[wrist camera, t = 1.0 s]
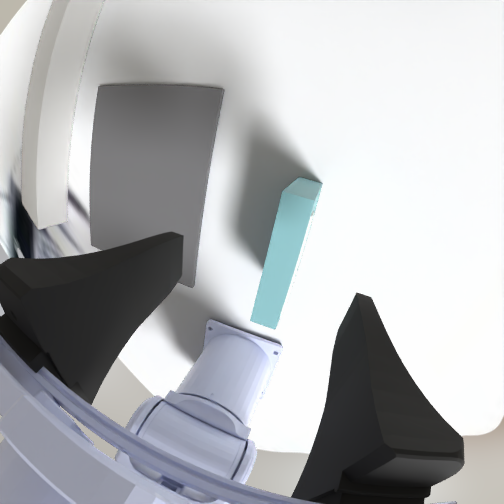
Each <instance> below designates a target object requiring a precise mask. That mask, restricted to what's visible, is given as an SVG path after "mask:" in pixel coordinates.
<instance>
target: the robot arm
mask: <svg viewBox="0 0 504 504" xmlns="http://www.w3.org/2000/svg"><path fill="white" fill-rule="evenodd" d="M183 240H184V235H181V234H178V233H175V232H172V231H171V232H166V233H162V234H158V235H155V236H151V237H148V238H145V239H142V240H138V241H135V242H132V243H129V244H125V245H121V246H118V247H114V248H111V249H107V250H103V251H99V252H94V253H89V254H84V255H77V256H69V257H61V258H47V259H28V258H10V259H8V260H6V261H5V262H3V263H2V264H0V303H1V306H2V308H3V310H4V312H5V314H4V315H2V316H0V415H1V416H2V418H1V419H0V432H1V433H2V435H3V436H4V437H5V438H4V440H3V441H2V442H1V443H0V504H424V498H426V497H429V495H430V492H431V486H433V485H435V484H437V483H439V482H441V481H443V480H445V479H447V478H449V477H451V476H453V475H454V474H456V473H457V472H458V471H459V470H460V469H461V468H462V467H463V465H464V442H463V438H462V437H461V436H460V435H459V434H458V433H457V432H456V431H455V430H454V429H453V428H452V427H451V426H450V425H449V424H448V423H447V422H446V421H445V420H444V419H443V418H442V417H441V415H440V414H439V413H438V412H437V411H436V410H435V408H434V407H433V406H432V405H431V404H430V402H429V401H428V400H427V399H426V397H425V396H424V394H423V393H422V392H421V390H420V389H419V388H418V386H417V385H416V383H415V382H414V380H413V379H412V377H411V376H410V374H409V373H408V371H407V369H406V368H405V366H404V364H403V363H402V361H401V359H400V357H399V356H398V354H397V352H396V350H395V348H394V346H393V344H392V342H391V340H390V338H389V336H388V334H387V332H386V329H385V327H384V325H383V323H382V321H381V318H380V316H379V314H378V312H377V309H376V307H375V305H374V302H373V300H372V298H371V297H369V296H366V295H363V294H359V293H356V295H355V297H354V299H353V301H352V303H351V305H350V307H349V309H348V311H347V313H346V315H345V317H344V319H343V321H342V323H341V325H340V327H339V329H338V332H337V336H336V340H335V345H334V349H333V354H332V362H331V370H330V377H329V385H328V392H327V398H326V403H325V408H324V412H323V415H322V419H321V422H320V426H319V429H318V432H317V435H316V438H315V441H314V444H313V447H312V450H311V452H310V455H309V457H308V460H307V463H306V465H305V468H304V470H303V472H302V475H301V477H300V479H299V481H298V484H297V486H296V488H295V490H294V492H293V494H292V496H291V497H287V496H283V495H279V494H275V493H271V492H268V491H264V490H261V489H257V488H254V487H251V486H248V485H245V483H246V480H247V479H248V477H249V475H250V473H251V471H252V468H253V465H254V463H255V460H256V456H257V449H256V447H255V443H254V441H251V440H249V439H247V438H248V436H249V433H250V431H251V429H250V428H249V427H248V426H249V423H250V421H251V418H252V416H253V413H254V411H255V408H256V406H257V403H258V401H259V399H262V398H263V396H264V394H265V392H266V389H267V387H268V385H269V382H270V380H271V377H272V375H273V372H274V370H275V368H276V365H277V363H278V360H279V358H280V355H281V353H282V350H283V347H282V345H280V344H278V343H275V342H272V341H269V340H266V339H263V338H260V337H257V336H255V335H252V334H249V333H246V332H244V331H241V330H238V329H235V328H233V327H230V326H227V325H225V324H222V323H220V322H217V321H215V320H211V319H210V320H208V321H207V324H206V331H205V339H204V347H203V352H202V353H201V355H200V356H199V358H198V359H197V361H196V362H195V364H194V365H193V367H192V368H191V370H190V371H189V373H188V374H187V376H186V377H185V378H184V380H183V381H182V383H181V384H180V386H179V387H178V389H177V390H176V392H174V391H172V390H170V392H169V393H168V394H167V396H166V397H165V399H164V398H162V397H161V396H154V397H152V398H148V399H146V400H145V401H144V402H143V403H142V404H141V405H140V406H139V407H138V409H137V410H136V411H135V413H134V414H133V415H132V417H131V419H130V420H129V422H128V424H127V426H126V428H124V427H122V426H120V425H119V424H117V423H116V422H114V421H113V420H111V419H110V418H108V417H107V416H105V415H104V414H102V413H101V412H100V411H98V410H97V409H95V408H94V407H92V406H91V405H92V403H93V400H94V398H95V396H96V394H97V392H98V390H99V388H100V386H101V384H102V382H103V380H104V378H105V377H106V375H107V373H108V371H109V369H110V368H111V366H112V364H113V363H114V361H115V360H116V358H117V357H118V355H119V353H120V352H121V350H122V349H123V347H124V346H125V344H126V343H127V342H128V340H129V339H130V337H131V336H132V335H133V333H134V332H135V331H136V329H137V328H138V327H139V326H140V325H141V324H142V323H143V322H144V320H145V319H146V318H147V317H148V316H149V315H150V314H151V313H152V312H153V311H154V310H155V309H156V308H157V306H158V305H159V304H160V303H161V302H162V301H163V300H164V299H165V298H166V297H167V296H168V294H169V293H170V292H171V291H172V289H173V288H174V287H175V285H176V284H177V282H178V281H179V279H180V278H181V276H182V266H183ZM210 327H211V328H212V329H211V328H210ZM275 351H277V352H278V353H277V352H275ZM60 406H61V407H62V408H63V409H65V410H66V411H67V412H68V413H69V414H71V415H72V416H73V417H74V418H76V419H77V420H78V421H79V422H81V423H82V424H83V425H84V426H86V427H87V428H88V429H90V430H91V431H92V432H94V433H95V434H97V435H98V436H99V437H101V438H102V439H104V440H105V441H107V442H108V443H110V444H111V445H113V446H114V447H116V448H117V449H118V451H117V454H116V456H115V460H113V459H112V458H110V457H108V456H107V455H106V454H104V453H103V452H101V451H100V450H99V449H97V448H96V447H94V446H93V445H94V443H93V442H92V440H90V439H89V438H88V437H87V436H86V435H85V434H84V433H83V432H82V431H81V429H80V428H79V427H78V426H77V425H76V423H75V422H74V420H73V419H71V418H70V416H68V415H67V414H66V413H65V412H64V411H63V410H62V409H61V408H60ZM432 504H457V502H456V501H453V502H444V503H432Z"/></svg>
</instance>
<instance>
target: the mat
mask: <svg viewBox="0 0 504 504" xmlns="http://www.w3.org/2000/svg"><path fill="white" fill-rule="evenodd" d="M223 94H224V89H219V88H208V87H196V86H180V85H113V86H99V87H98V93H97V99H96V107H95V114H94V123H93V133H92V145H91V161H90V231H91V245H92V246H94V247H96V248H98V249H100V250H107V249H111V248H114V247H118V246H121V245H125V244H129V243H132V242H135V241H138V240H142V239H145V238H148V237H151V236H155V235H158V234H162V233H166V232H171V231H172V232H175V233H178V234H181V235H184V240H183V266H182V276H181V278H180V279H179V281H178V283H181V284H183V285H186V286H188V287H191V288H193V287H194V283H195V273H196V264H197V256H198V248H199V239H200V232H201V224H202V217H203V210H204V203H205V196H206V189H207V183H208V176H209V170H210V164H211V158H212V152H213V147H214V141H215V135H216V130H217V124H218V119H219V114H220V109H221V104H222V99H223Z"/></svg>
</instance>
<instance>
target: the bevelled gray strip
mask: <svg viewBox="0 0 504 504" xmlns="http://www.w3.org/2000/svg"><path fill="white" fill-rule="evenodd" d="M104 1H105V0H53V2H52V5H51V7H50V10H49V13H48V15H47V18H46V21H45V24H44V27H43V30H42V34H41V37H40V40H39V44H38V48H37V51H36V55H35V59H34V64H33V68H32V73H31V78H30V83H29V88H28V94H27V101H26V108H25V116H24V126H23V138H22V159H21V188H22V204H23V205H24V207H25V209H26V210H27V212H28V214H29V215H30V217H31V219H32V220H33V222H34V224H35V225H36V227H37V228H38V230H40V229H43V228H47V227H50V226H54V225H58V224H61V223H65V222H67V221H68V175H69V157H70V146H71V136H72V128H73V121H74V114H75V108H76V102H77V96H78V91H79V86H80V81H81V77H82V72H83V68H84V63H85V60H86V56H87V52H88V48H89V45H90V42H91V38H92V35H93V32H94V29H95V26H96V23H97V20H98V17H99V14H100V11H101V9H102V6H103V4H104Z"/></svg>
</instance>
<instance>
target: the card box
mask: <svg viewBox="0 0 504 504" xmlns="http://www.w3.org/2000/svg"><path fill="white" fill-rule="evenodd" d="M321 188H322V183H319V182H316V181H312V180H309V179H305V178H302V177H298V178H297V179H296V180H295V181H294V182H292V183H291V184H290V185H289V186H288V187H287V188H285V189H284V190H283V191H282V194H281V199H280V203H279V207H278V211H277V215H276V219H275V223H274V228H273V232H272V236H271V240H270V244H269V248H268V252H267V256H266V260H265V264H264V268H263V272H262V276H261V280H260V284H259V288H258V292H257V296H256V300H255V304H254V308H253V312H252V315H251V319H250V321H252V322H255V323H258V324H260V325H263V326H266V327H269V328H272V329H276V326H277V324H278V321H279V319H280V316H282V314H283V311H284V308H285V306H286V303H287V300H288V297H289V294H290V291H291V288H292V285H293V282H294V279H295V276H296V273H297V270H298V266H299V263H300V260H301V257H302V253H303V250H304V247H305V244H306V240H307V237H308V233H309V230H310V227H311V223H312V220H313V216H314V213H315V209H316V206H317V202H318V198H319V195H320V191H321Z"/></svg>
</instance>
